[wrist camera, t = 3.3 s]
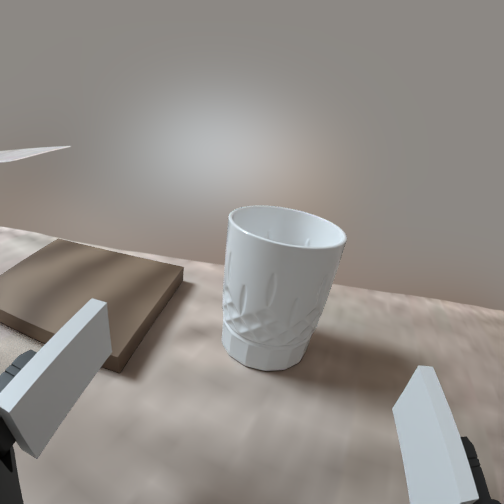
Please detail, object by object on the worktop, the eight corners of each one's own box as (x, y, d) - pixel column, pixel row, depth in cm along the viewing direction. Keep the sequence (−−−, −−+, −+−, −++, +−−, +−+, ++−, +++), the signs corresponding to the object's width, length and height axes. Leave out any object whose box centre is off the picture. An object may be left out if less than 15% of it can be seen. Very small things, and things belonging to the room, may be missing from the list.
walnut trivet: (182, 280, 32) (183, 267, 32) (119, 373, 19) (117, 357, 19) (59, 250, 33) (58, 238, 33) (-24, 309, 21) (-28, 294, 20)
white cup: (199, 360, 22) (211, 228, 18) (230, 306, 29) (245, 199, 26) (307, 388, 21) (350, 259, 17) (315, 327, 28) (344, 220, 24)
